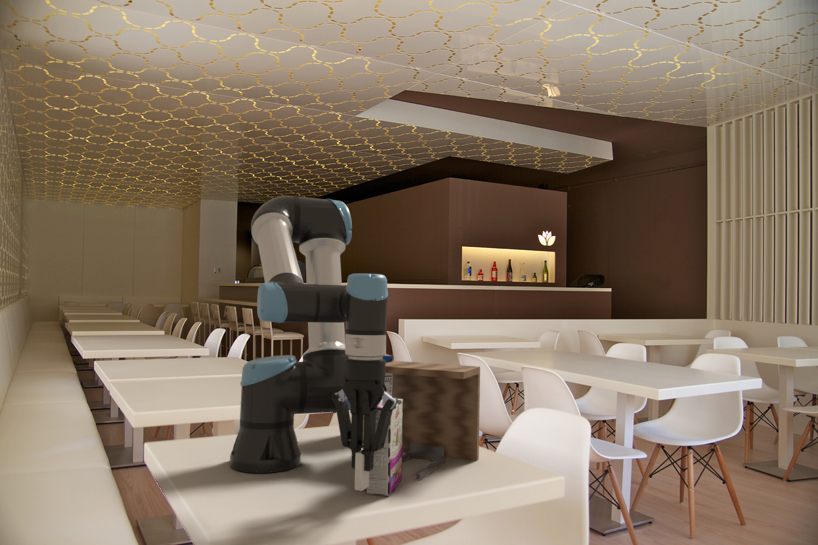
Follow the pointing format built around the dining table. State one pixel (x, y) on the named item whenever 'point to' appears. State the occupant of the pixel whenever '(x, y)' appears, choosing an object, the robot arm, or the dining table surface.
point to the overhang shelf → (437, 411)
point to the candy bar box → (388, 456)
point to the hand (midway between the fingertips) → (361, 487)
